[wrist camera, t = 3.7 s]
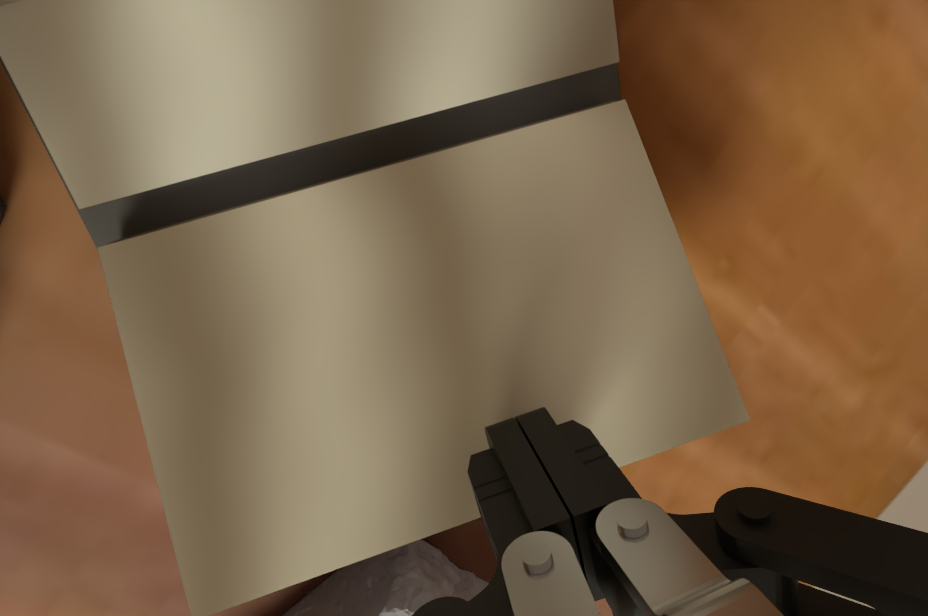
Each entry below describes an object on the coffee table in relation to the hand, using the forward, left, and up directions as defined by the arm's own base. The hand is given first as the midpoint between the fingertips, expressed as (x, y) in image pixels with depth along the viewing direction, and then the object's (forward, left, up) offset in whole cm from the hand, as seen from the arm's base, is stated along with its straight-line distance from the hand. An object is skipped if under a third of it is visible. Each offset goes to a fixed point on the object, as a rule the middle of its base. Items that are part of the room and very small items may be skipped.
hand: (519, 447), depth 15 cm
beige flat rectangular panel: (-1, +2, -3) cm, 4 cm away
